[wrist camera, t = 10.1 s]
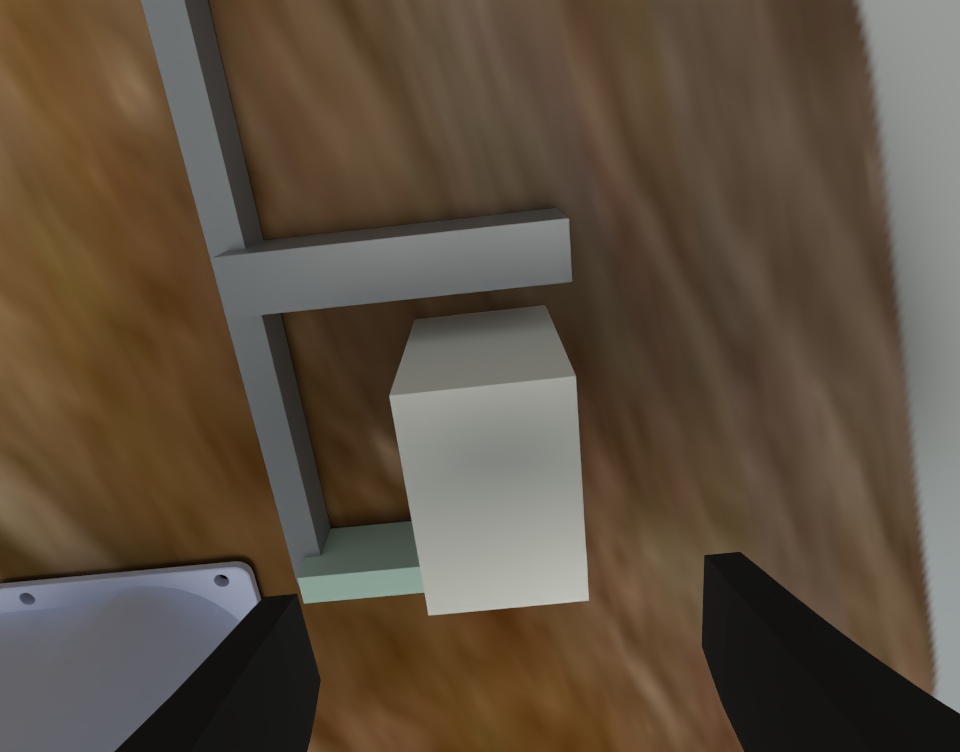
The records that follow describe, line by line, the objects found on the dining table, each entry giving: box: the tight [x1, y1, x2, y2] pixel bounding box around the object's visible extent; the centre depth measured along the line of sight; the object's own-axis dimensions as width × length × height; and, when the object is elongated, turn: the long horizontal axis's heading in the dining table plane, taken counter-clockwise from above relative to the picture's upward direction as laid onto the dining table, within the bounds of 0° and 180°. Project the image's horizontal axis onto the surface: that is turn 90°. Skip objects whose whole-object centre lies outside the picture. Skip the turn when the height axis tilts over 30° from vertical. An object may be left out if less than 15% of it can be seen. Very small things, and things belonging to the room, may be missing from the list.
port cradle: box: [141, 0, 588, 604], centre depth 17 cm, size 10×20×2 cm, turn 6°
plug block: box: [389, 305, 589, 616], centre depth 17 cm, size 4×6×6 cm, turn 6°
